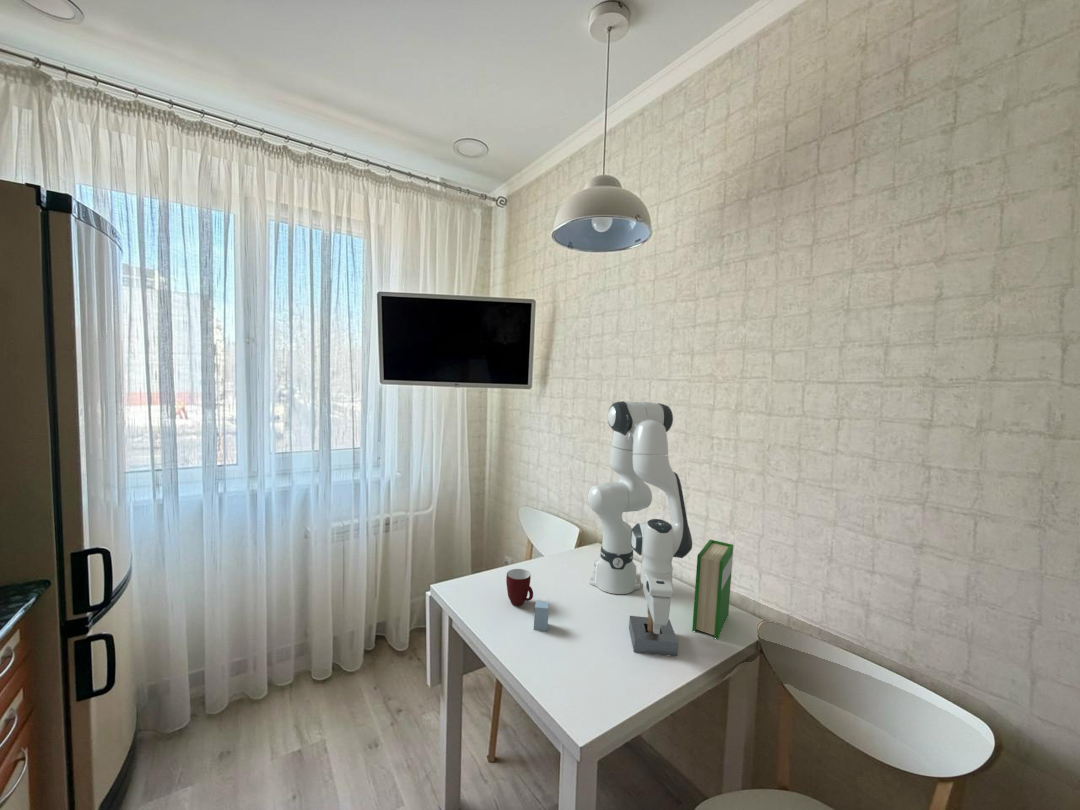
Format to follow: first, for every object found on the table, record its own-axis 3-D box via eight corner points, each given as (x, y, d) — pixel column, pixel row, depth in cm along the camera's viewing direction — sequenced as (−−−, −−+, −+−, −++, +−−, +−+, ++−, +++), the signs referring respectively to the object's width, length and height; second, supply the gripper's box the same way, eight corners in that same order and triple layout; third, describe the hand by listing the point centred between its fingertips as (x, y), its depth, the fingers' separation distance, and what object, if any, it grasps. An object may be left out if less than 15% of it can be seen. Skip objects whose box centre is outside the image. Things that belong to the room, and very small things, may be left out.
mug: (540, 604, 144) (541, 575, 143) (526, 614, 137) (527, 584, 137) (514, 594, 150) (516, 566, 149) (500, 603, 143) (501, 574, 142)
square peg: (534, 622, 133) (536, 600, 133) (547, 623, 132) (548, 601, 132) (533, 629, 129) (534, 607, 129) (546, 631, 129) (548, 608, 128)
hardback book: (717, 640, 128) (723, 561, 127) (692, 631, 133) (697, 555, 131) (728, 615, 143) (733, 544, 142) (705, 607, 147) (710, 539, 146)
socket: (628, 628, 132) (629, 615, 132) (668, 632, 131) (669, 619, 131) (633, 652, 120) (634, 638, 120) (677, 656, 119) (678, 642, 119)
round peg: (645, 638, 128) (647, 608, 127) (656, 639, 127) (658, 609, 127) (647, 644, 124) (649, 614, 124) (658, 645, 124) (660, 615, 124)
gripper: (640, 561, 135) (637, 604, 136) (651, 592, 115) (647, 642, 116) (660, 563, 135) (657, 606, 136) (674, 594, 115) (671, 644, 115)
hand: (653, 623), depth 126 cm, fingers open, 8 cm apart
